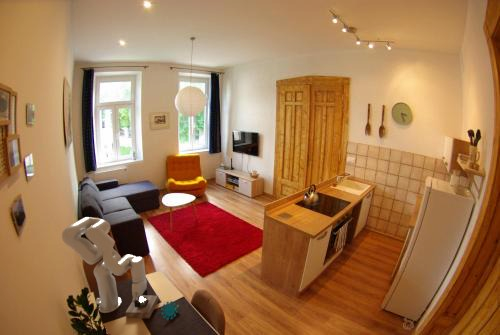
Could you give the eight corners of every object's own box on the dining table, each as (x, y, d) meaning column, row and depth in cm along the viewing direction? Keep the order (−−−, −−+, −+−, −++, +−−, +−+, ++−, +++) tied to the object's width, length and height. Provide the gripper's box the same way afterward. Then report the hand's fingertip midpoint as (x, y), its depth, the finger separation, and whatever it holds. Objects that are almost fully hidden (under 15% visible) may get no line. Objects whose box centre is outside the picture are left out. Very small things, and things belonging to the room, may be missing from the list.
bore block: (126, 317, 151) (125, 312, 150) (137, 300, 165) (136, 295, 164) (149, 318, 151) (148, 312, 150) (158, 300, 165) (157, 295, 164)
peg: (137, 311, 156) (136, 302, 154) (141, 306, 160) (139, 296, 159) (145, 311, 156) (143, 302, 154) (147, 306, 160) (146, 296, 158)
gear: (164, 322, 146) (159, 304, 150) (160, 324, 150) (156, 306, 154) (181, 314, 154) (177, 297, 158) (178, 316, 157) (174, 300, 161)
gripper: (139, 267, 161) (141, 290, 165) (125, 286, 144) (128, 311, 148) (150, 268, 161) (153, 291, 165) (138, 287, 144) (141, 312, 148)
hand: (141, 300), depth 157 cm, fingers open, 9 cm apart
